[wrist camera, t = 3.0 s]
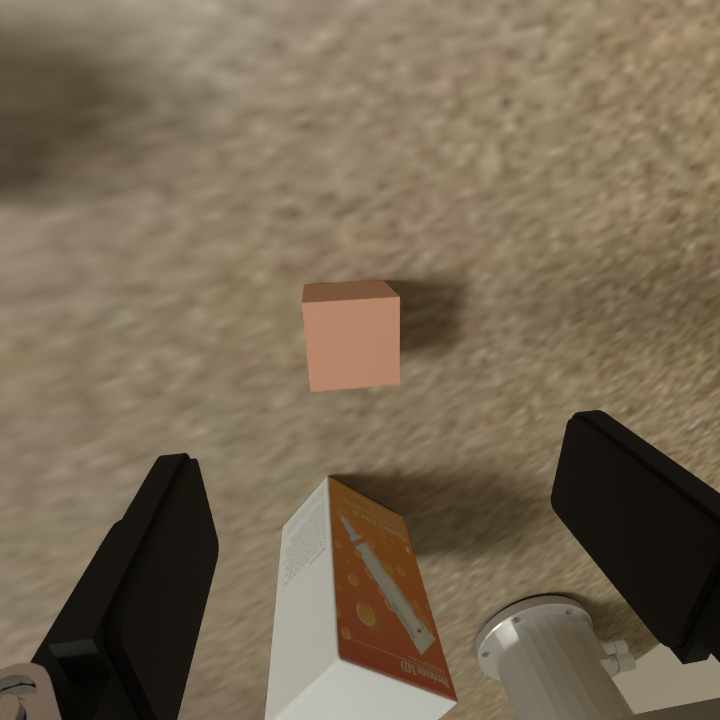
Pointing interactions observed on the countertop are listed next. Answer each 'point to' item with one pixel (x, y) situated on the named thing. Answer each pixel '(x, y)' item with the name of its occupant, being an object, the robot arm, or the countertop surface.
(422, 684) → the small box
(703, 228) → the countertop surface
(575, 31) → the countertop surface
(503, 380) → the countertop surface
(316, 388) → the terracotta block
